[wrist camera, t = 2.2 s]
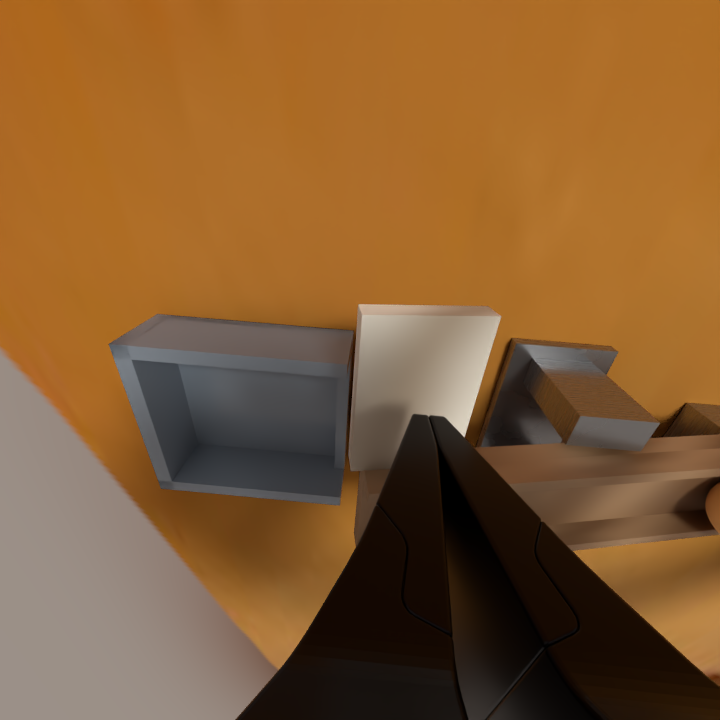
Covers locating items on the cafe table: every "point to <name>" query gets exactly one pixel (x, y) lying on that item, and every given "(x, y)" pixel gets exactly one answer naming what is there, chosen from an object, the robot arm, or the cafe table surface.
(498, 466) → the lever
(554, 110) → the cafe table surface
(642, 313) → the cafe table surface
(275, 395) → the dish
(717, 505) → the ball
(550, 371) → the stand
